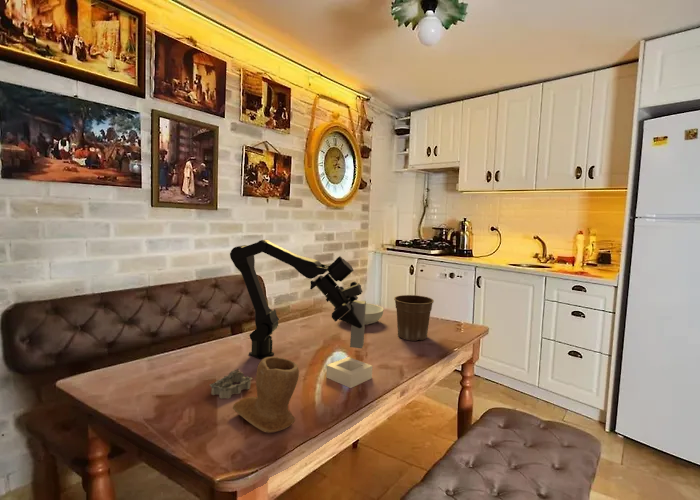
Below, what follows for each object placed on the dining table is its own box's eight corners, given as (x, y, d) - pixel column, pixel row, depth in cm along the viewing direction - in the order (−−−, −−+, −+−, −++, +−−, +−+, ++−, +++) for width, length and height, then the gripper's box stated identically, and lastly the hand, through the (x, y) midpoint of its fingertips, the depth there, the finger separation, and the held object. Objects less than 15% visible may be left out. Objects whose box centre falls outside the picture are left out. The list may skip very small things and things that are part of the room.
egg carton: (238, 381, 116) (239, 367, 116) (255, 388, 112) (255, 374, 111) (206, 393, 108) (206, 378, 107) (223, 401, 103) (223, 386, 103)
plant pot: (388, 339, 159) (390, 300, 157) (396, 328, 174) (398, 293, 172) (429, 345, 154) (431, 305, 152) (433, 333, 169) (435, 297, 168)
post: (350, 347, 130) (352, 302, 128) (352, 343, 134) (354, 300, 132) (361, 348, 129) (364, 304, 128) (363, 344, 133) (366, 301, 132)
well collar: (350, 388, 113) (351, 375, 113) (326, 377, 120) (326, 365, 120) (371, 378, 121) (372, 365, 121) (347, 368, 128) (348, 356, 127)
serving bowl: (362, 314, 197) (363, 300, 196) (392, 324, 181) (392, 309, 180) (329, 320, 184) (329, 305, 183) (358, 331, 168) (358, 316, 167)
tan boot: (307, 423, 94) (309, 363, 93) (264, 442, 86) (266, 376, 84) (272, 400, 105) (273, 345, 103) (231, 415, 96) (231, 356, 95)
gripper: (343, 279, 120) (377, 317, 120) (353, 271, 139) (382, 304, 138) (317, 302, 123) (350, 340, 122) (330, 291, 141) (359, 323, 140)
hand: (362, 325), depth 130 cm, fingers closed on post, 4 cm apart
